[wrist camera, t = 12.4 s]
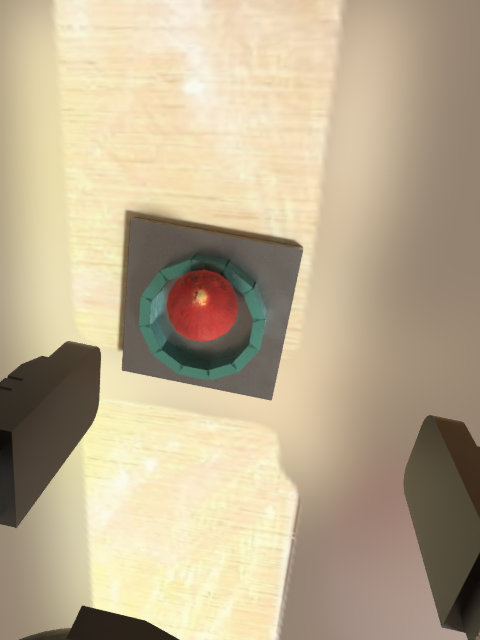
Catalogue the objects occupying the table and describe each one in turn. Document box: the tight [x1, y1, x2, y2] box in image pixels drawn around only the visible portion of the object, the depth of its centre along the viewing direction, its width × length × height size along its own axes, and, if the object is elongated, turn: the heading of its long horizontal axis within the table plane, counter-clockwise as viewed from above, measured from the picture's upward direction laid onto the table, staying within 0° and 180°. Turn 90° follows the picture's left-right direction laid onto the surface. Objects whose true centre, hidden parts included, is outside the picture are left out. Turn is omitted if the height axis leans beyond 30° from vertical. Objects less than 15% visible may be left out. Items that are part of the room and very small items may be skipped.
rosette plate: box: [122, 217, 303, 400], centre depth 41 cm, size 15×15×3 cm
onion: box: [166, 270, 239, 342], centre depth 37 cm, size 6×6×8 cm
